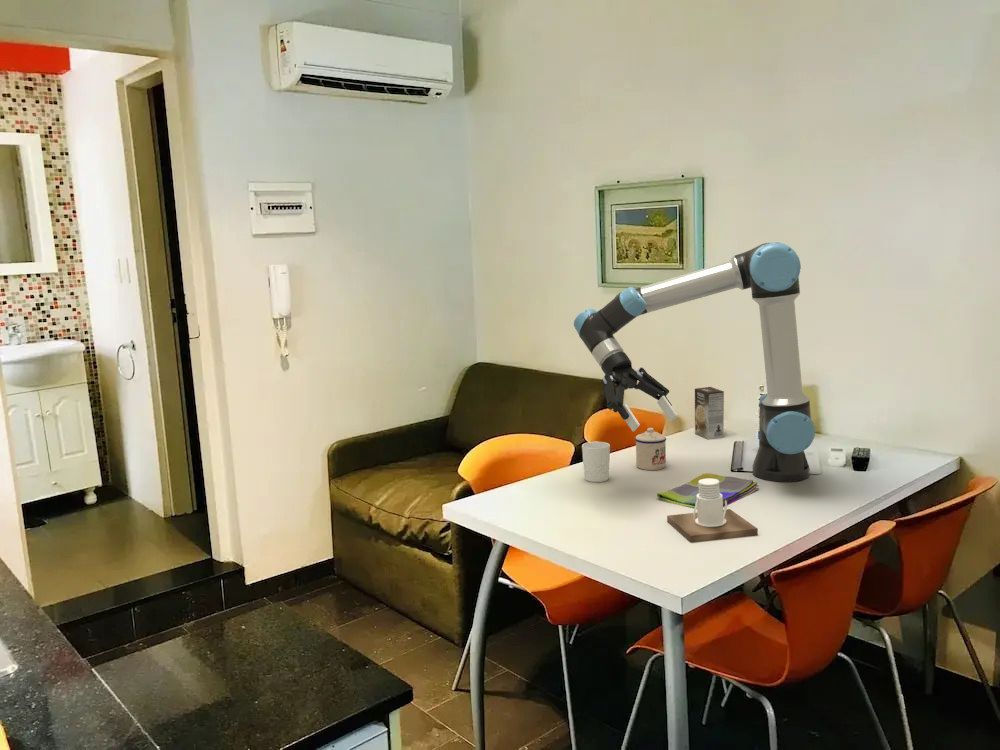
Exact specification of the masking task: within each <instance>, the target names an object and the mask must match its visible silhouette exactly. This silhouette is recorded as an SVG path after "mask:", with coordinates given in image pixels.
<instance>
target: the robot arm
mask: <svg viewBox="0 0 1000 750" xmlns="http://www.w3.org/2000/svg"><path fill="white" fill-rule="evenodd" d="M801 269H802V267H801V260H800V258H799V255H798V254H797V252H796V251H795V250H794V249H793V248H792V247H791V246H789V245H787V244H785V243H782V242H765V243H762V244H759V245H757V246H755V247H753V248H751V249H749V250H747V251H744V252H741V253H739V254H736V255H732V257H731V258H730V260H728V261H724V262H721V263H717V264H714V265H711V266H708V267H705V268H701V269H698V270H695V271H694V270H693V271H692V272H691V271H690V272H688V273H684V274H681V275H677V276H674V277H670V278H667V279H664V280H660V281H657V282H653V283H650V284H647V285H643V286H640V287H637V288H635V287H633V286H629V287H627V288H626V289H625V290H623V291H620V292H619V293H618V294H616V295H615V296H614V298H613V299H612V300H610V301H609V302H608V303H607V304H606V305H604V306H603V307H602V308H600V309H599V310H598V311H597V310H596V309H594V308H588V309H585V310H584V311H580V312H579V314H577V315H576V317H575V319H574V321H573V327H574V328H575V329H574V330H575V331H576V332H577V334H578V337H579V338H580V339H581V341H582V342H583V344H584V345H585V346H586V348H587V350H588V351H589V352H590V353H591V355H592V357H593V358H594V360H595V361H596V363H597V365H598V366H599V367H600V368H601V371H602V372H603V373H604V376H603V377H602V379H600V380H601V383H602V385H603V387H604V388H603V389H604V394H605V400H606V405H607V409H608V410H610V411H613V412H614V413H618V414H619V416H620V417H621V419H622V420H624V421H625V422H626V424H627V426H628V427H629V428H630V429H631V431H632V432H635V431H637V429H638V427H640V425H641V424H640V423H639V421H638V419H637V418H636V416H635V415H634V414H633V412H632V410H631V409H630V407H629V405H628V404H627V403H625V404H624V399H625V398H624V397H625V391H626V390H628V389H629V390H630V389H631V390H632V389H635V390H639V391H641V392H643V393H645V394H646V395H648V396H650V397H652V398H653V399H655V400H657V403H656V404H657V405H658V406H659V407H660V408H661V410H662V411H663V413H664V415H665V417H667V419H668V420H669V422H670V423H672V422H674V420H676V418H677V417H678V416H679V415H678V413H677V412H676V410H675V409H674V407H673V405H672V403H671V402H670V401H669V399H668V397H667V395H668V394H669V393H670V390H669V389H668V388H667V387H665V385H663V384H662V383H660V382H659V381H658V380H656V379H655V378H654V377H653V376H651V375H650V373H648V372H647V371H646V369H645V368H644V367H640V368H638V370H635V369H634V368H633V366H632V360H631V359H630V358H629V356H628V355H627V353H626V352H624V349H623V347H622V346H621V345H620V344H619V342H618V340H617V338H615V336H614V335H615V334H616V333H618V332H619V331H620V330H621V329H622V328H624V327H625V326H626V325H627V324H629V323H631V322H632V321H633V320H635V319H636V318H637V317H639V316H643V315H646V314H648V313H652V312H655V311H658V310H659V311H660V310H663V309H666V308H670V307H674V306H677V305H679V304H684V303H687V302H690V301H694V300H698V299H702V298H706V297H709V296H712V295H716V294H719V293H723V292H726V291H730V290H733V289H740V290H742V291H743V290H747V289H751V298H752V300H753V301H755V303H757V304H758V307H759V318H760V328H761V338H762V339H761V340H762V347H763V348H762V349H763V358H764V359H763V360H764V370H765V381H766V392H767V393H764V394H761V396H759V403H758V407H759V409H758V412H759V413H758V416H759V422H758V424H759V427H758V436H759V437H758V439H759V441H758V449H757V452H756V455H755V457H754V460H753V464H752V475H753V476H754V477H756V478H759V479H763V480H766V481H770V482H771V481H774V482H798V481H799V482H800V481H803V480H806V479H808V478H810V466H809V462H808V459H807V456H806V453H805V450H807V449H808V448H810V446H811V445H812V443H813V442H814V439H815V435H816V427H815V423H814V422H813V420H812V414H811V404H810V402H811V401H810V397H808V396H807V395H806V394H804V392H803V384H802V383H803V382H802V373H801V362H800V361H801V360H800V350H799V339H798V329H797V315H796V305H795V304H796V303H795V300H797V298H798V297H799V296H800V294H801V290H800V273H801ZM614 386H615V387H614Z"/></svg>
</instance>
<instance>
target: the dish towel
mask: <svg viewBox="0 0 1000 750" xmlns="http://www.w3.org/2000/svg"><path fill="white" fill-rule="evenodd" d="M706 478H712V479H717V480H719V491H720V493H721V494H722V496H723V508H725V500H726V501H727V506H728V505H730V504H733V503H735V502H737V501H739V500H742V499H744V498H745V497H748V496H750V495H752V494H754V493H755V492H756V491H759V488H758V487H759V485H758V482H757V481H754V480H753V479H746V478H739V477H734V476H726V475H719V474H716V473H710V472H705V473H702V474H701V475H700V474H699V475H698V476H696V477H695V478H693V479H691V480H690V481H688V482H685V483H684V484H682V485H680V486H679V485H678V486H676V487H674V488H672V489H669V490H666V491H661V492H657V493H656V496H657V498H658V499H659V500H661V501H663V502H666V503H669V504H673V505H678V506H681V507H682V506H683V507H686V508H691V509H695V504H696V500H697V497H696V495H697V494H699V483H698V481H699V480H701V479H706ZM696 510H697V508H696Z"/></svg>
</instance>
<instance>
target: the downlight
mask: <svg viewBox="0 0 1000 750" xmlns="http://www.w3.org/2000/svg"><path fill="white" fill-rule="evenodd" d="M698 483H699V494H697V495H696V497H697V500H696V504H695V509H694V508H693V509H694V510H693V512H692V513H693V518H694V520H695V513H697V515H698V518H697V519H696V520H695V523H696V524H698V525H700V526H704V527H718V526H722V525H724V524H725V523H726V519H725V518H724V517H725V513H726V509H728V505H727V501H726V500H725V506H724V507H723V496H722V494H721V493H720V491H719V480H717V479H712V478H706V479H701V480H699V481H698ZM696 508H697V509H696ZM723 510H724V513H723Z"/></svg>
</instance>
